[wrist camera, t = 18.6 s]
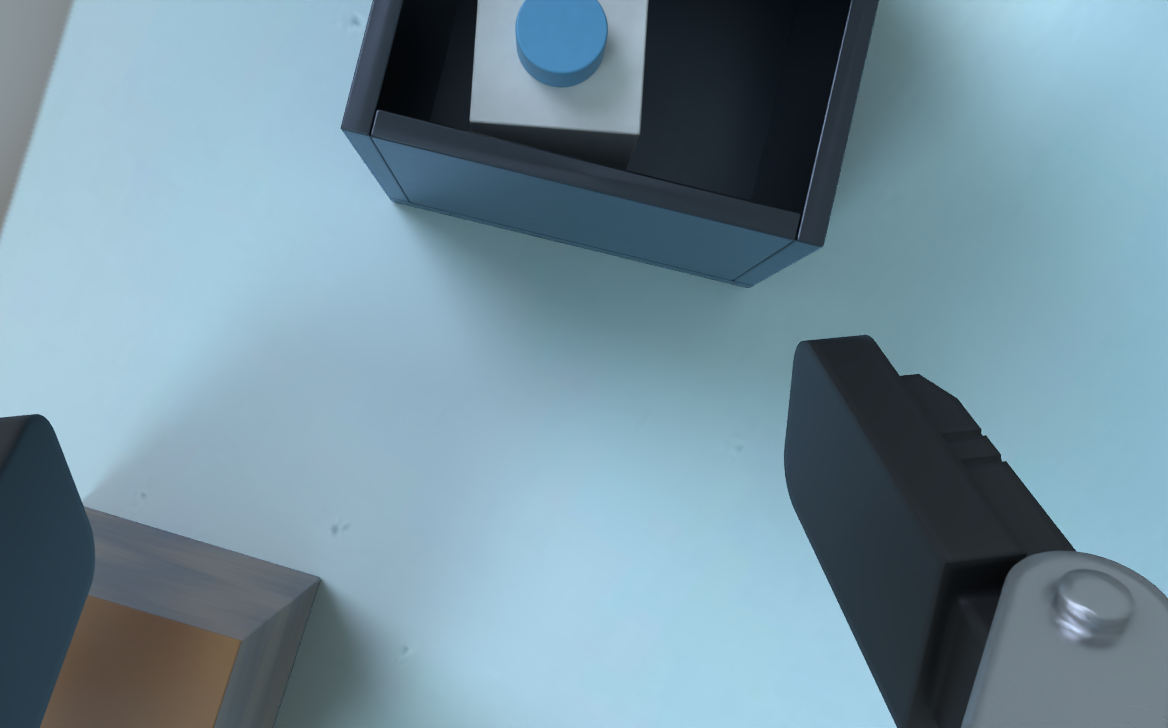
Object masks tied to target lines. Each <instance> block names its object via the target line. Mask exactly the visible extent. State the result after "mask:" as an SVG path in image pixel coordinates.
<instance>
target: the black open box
mask: <svg viewBox="0 0 1168 728" xmlns="http://www.w3.org/2000/svg"><path fill="white" fill-rule="evenodd" d="M878 2H879V0H649V1H648V18H647V34H646V50H645V66H644V83H643V99H642V115H641V132H640V135H639V138H638V140H637V143H636V146H635V148H634V151H633V153H632V156H631V159H630V161H629V164H628V166H627V169H626V170H624V169H620V168H615V167H611V166H607V165H603V164H599V163H595V162H591V161H587V160H583V159H579V158H575V157H571V156H567V155H563V154H559V153H555V152H551V151H547V150H542V149H538V148H534V147H530V146H526V145H522V144H518V143H514V142H510V141H506V140H502V139H498V138H494V137H490V136H486V135H482V134H478V133H474V132H472V129H471V124H470V106H471V92H472V77H473V63H474V48H475V34H476V19H477V5H478V0H373V2H372V6H371V10H370V14H369V18H368V22H367V26H366V30H365V34H364V38H363V42H362V46H361V50H360V54H359V58H358V62H357V66H356V69H355V73H354V77H353V81H352V85H351V89H350V93H349V97H348V101H347V105H346V109H345V113H344V117H343V121H342V125H341V129H342V131H343V132H344V134H345V135H346V137H347V138H348V140H349V141H350V142H351V144H352V145H353V147H354V148H355V150H356V151H357V153H358V154H359V155H360V157H361V158H362V160H363V161H364V163H365V164H366V165H367V167H368V168H369V170H370V171H371V173H372V174H373V176H374V177H375V178H376V180H377V181H378V183H379V184H380V186H381V187H382V189H383V190H384V191H385V193H386V194H387V196H388V197H389V198H390V200H391V201H392V202H396V203H401V204H405V205H409V206H413V207H417V208H421V209H425V210H429V211H433V212H437V213H442V214H446V215H450V216H454V217H458V218H462V219H466V220H470V221H474V222H479V223H483V224H487V225H491V226H495V227H499V228H503V229H507V230H511V231H516V232H520V233H524V234H528V235H532V236H536V237H540V238H544V239H548V240H553V241H557V242H561V243H565V244H569V245H573V246H577V247H581V248H585V249H590V250H594V251H598V252H602V253H606V254H610V255H614V256H618V257H622V258H626V259H631V260H635V261H639V262H643V263H647V264H651V265H655V266H659V267H663V268H668V269H672V270H676V271H680V272H684V273H688V274H692V275H696V276H700V277H705V278H709V279H713V280H717V281H721V282H725V283H729V284H733V285H737V286H742V287H746V288H750V287H752V286H753V285H755V284H757V283H759V282H760V281H762V280H764V279H766V278H768V277H769V276H771V275H773V274H775V273H777V272H778V271H780V270H782V269H784V268H786V267H787V266H789V265H791V264H793V263H795V262H796V261H798V260H800V259H802V258H803V257H805V256H807V255H809V254H811V253H812V252H814V251H816V250H818V249H820V248H821V247H823V245H824V242H825V237H826V233H827V228H828V224H829V219H830V215H831V211H832V206H833V202H834V197H835V193H836V188H837V184H838V180H839V175H840V171H841V166H842V162H843V157H844V153H845V149H846V144H847V140H848V135H849V131H850V126H851V122H852V118H853V113H854V109H855V104H856V100H857V95H858V91H859V87H860V82H861V78H862V73H863V69H864V64H865V60H866V56H867V51H868V47H869V42H870V38H871V33H872V29H873V25H874V20H875V16H876V11H877V7H878Z"/></svg>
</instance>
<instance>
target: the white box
mask: <svg viewBox="0 0 1168 728" xmlns="http://www.w3.org/2000/svg"><path fill="white" fill-rule="evenodd" d="M648 1H649V0H478V5H477V19H476V34H475V48H474V63H473V77H472V92H471V106H470V124H471V129H472V132H474V133H478V134H482V135H486V136H490V137H494V138H498V139H502V140H506V141H510V142H514V143H518V144H522V145H526V146H530V147H534V148H538V149H542V150H547V151H551V152H555V153H559V154H563V155H567V156H571V157H575V158H579V159H583V160H587V161H591V162H595V163H599V164H603V165H607V166H611V167H615V168H620V169H624V170H626V169H627V166H628V164H629V161H630V159H631V156H632V153H633V151H634V148H635V146H636V143H637V140H638V138H639V135H640V132H641V115H642V99H643V83H644V66H645V50H646V34H647V18H648Z"/></svg>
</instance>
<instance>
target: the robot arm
mask: <svg viewBox="0 0 1168 728" xmlns="http://www.w3.org/2000/svg"><path fill="white" fill-rule="evenodd" d="M784 467H785V477H786V483H787V488H788V492H789V496H790V499H791V502H792V505H793V507H794V509H795V512H796V514H797V516H798V518H799V520H800V522H801V524H802V526H803V529H804V531H805V533H806V535H807V537H808V539H809V541H810V543H811V546H812V548H813V550H814V552H815V554H816V556H817V558H818V560H819V563H820V565H821V567H822V569H823V571H824V573H825V575H826V577H827V580H828V582H829V584H830V586H831V588H832V590H833V592H834V594H835V597H836V599H837V601H838V603H839V605H840V607H841V609H842V611H843V614H844V616H845V618H846V620H847V622H848V624H849V626H850V628H851V631H852V633H853V635H854V637H855V639H856V641H857V643H858V645H859V648H860V650H861V652H862V654H863V656H864V658H865V660H866V662H867V665H868V667H869V669H870V671H871V673H872V675H873V677H874V679H875V682H876V684H877V686H878V688H879V690H880V692H881V694H882V696H883V699H884V701H885V703H886V705H887V707H888V709H889V711H890V713H891V716H892V718H893V720H894V722H895V724H896V726H897V728H1168V598H1167V597H1166V596H1165V595H1164V594H1163V593H1162V592H1161V591H1160V590H1159V589H1158V588H1157V587H1156V586H1155V585H1154V584H1152V583H1151V582H1150V581H1148V580H1147V579H1146V578H1144V577H1143V576H1141V575H1140V574H1138V573H1136V572H1135V571H1133V570H1131V569H1130V568H1127V567H1125V566H1123V565H1121V564H1119V563H1117V562H1114V561H1112V560H1109V559H1106V558H1103V557H1100V556H1096V555H1092V554H1088V553H1082V552H1076V551H1075V549H1074V548H1073V547H1072V545H1071V544H1070V543H1069V542H1068V540H1067V539H1066V538H1065V536H1064V535H1063V534H1062V533H1061V531H1060V530H1059V529H1058V527H1057V526H1056V525H1055V524H1054V522H1053V521H1052V520H1051V518H1050V517H1049V516H1048V515H1047V513H1046V512H1045V511H1044V509H1043V508H1042V507H1041V506H1040V504H1039V503H1038V502H1037V500H1036V499H1035V498H1034V497H1033V495H1032V494H1031V493H1030V491H1029V490H1028V489H1027V488H1026V486H1025V485H1024V484H1023V482H1022V481H1021V480H1020V479H1019V477H1018V476H1017V475H1016V473H1015V472H1014V471H1013V470H1012V468H1011V467H1010V466H1009V464H1008V463H1007V462H1006V461H1004V462H1002V460H1001V454H1000V453H999V452H998V450H997V449H996V448H995V446H994V445H993V444H992V443H991V441H990V440H989V439H988V437H987V436H982V434H981V428H980V427H979V426H978V425H977V423H976V422H975V421H974V419H973V418H972V417H971V416H970V414H969V413H968V412H967V410H966V409H965V408H964V407H963V405H962V404H961V403H960V401H959V400H958V399H957V398H955V397H954V396H952V395H951V394H949V393H948V392H946V391H945V390H943V389H941V388H940V387H938V386H937V385H935V384H934V383H932V382H931V381H929V380H927V379H926V378H924V377H923V376H921V375H920V374H914V375H904V376H899V374H898V373H897V371H896V370H895V369H894V367H893V366H892V365H891V363H890V362H889V360H888V359H887V358H886V356H885V355H884V353H883V352H882V351H881V349H880V348H879V346H878V345H877V344H876V342H875V341H874V340H873V339H872V338H871V337H870V336H868V335H859V336H849V337H839V338H829V339H819V340H808V341H801V342H800V343H799V344H798V346H797V348H796V351H795V355H794V361H793V371H792V381H791V390H790V400H789V410H788V420H787V429H786V439H785V449H784ZM94 570H95V544H94V537H93V532H92V528H91V525H90V522H89V519H88V517H87V514H86V512H85V509H84V506H83V504H82V501H81V499H80V496H79V493H78V491H77V488H76V486H75V483H74V480H73V478H72V475H71V473H70V470H69V467H68V465H67V462H66V460H65V457H64V454H63V452H62V449H61V447H60V444H59V441H58V439H57V436H56V434H55V431H54V429H53V427H52V426H51V424H50V422H49V421H48V420H47V419H46V418H45V417H44V416H42V415H39V414H33V415H23V416H13V417H3V418H0V728H40V726H41V723H42V720H43V717H44V715H45V712H46V709H47V706H48V704H49V701H50V698H51V695H52V693H53V690H54V687H55V684H56V681H57V679H58V676H59V673H60V670H61V668H62V665H63V662H64V659H65V657H66V654H67V651H68V648H69V646H70V643H71V640H72V637H73V635H74V632H75V629H76V626H77V624H78V621H79V618H80V615H81V613H82V610H83V607H84V604H85V602H86V599H87V596H88V593H89V590H90V588H91V585H92V581H93V576H94Z"/></svg>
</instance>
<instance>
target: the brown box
mask: <svg viewBox="0 0 1168 728" xmlns="http://www.w3.org/2000/svg"><path fill="white" fill-rule="evenodd" d="M84 509H85V512H86V514H87V517H88V519H89V522H90V525H91V528H92V532H93V537H94V544H95V570H94V576H93V581H92V585H91V588H90V590H89V593H88V596H87V599H86V602H85V604H84V607H83V610H82V613H81V615H80V618H79V621H78V624H77V626H76V629H75V632H74V635H73V637H72V640H71V643H70V646H69V648H68V651H67V654H66V657H65V659H64V662H63V665H62V668H61V670H60V673H59V676H58V679H57V681H56V684H55V687H54V690H53V693H52V695H51V698H50V701H49V704H48V706H47V709H46V712H45V715H44V717H43V720H42V723H41V726H40V728H273V726H274V723H275V720H276V717H277V714H278V710H279V707H280V704H281V701H282V698H283V695H284V692H285V689H286V685H287V682H288V679H289V676H290V673H291V670H292V667H293V663H294V660H295V657H296V654H297V651H298V648H299V645H300V642H301V638H302V635H303V632H304V629H305V626H306V623H307V620H308V616H309V613H310V610H311V607H312V604H313V601H314V598H315V595H316V591H317V588H318V585H319V582H320V577H316V576H313V575H310V574H306V573H303V572H300V571H296V570H293V569H290V568H286V567H283V566H280V565H276V564H273V563H270V562H266V561H263V560H260V559H256V558H253V557H250V556H246V555H243V554H240V553H236V552H233V551H230V550H226V549H223V548H220V547H216V546H213V545H210V544H207V543H203V542H200V541H197V540H193V539H190V538H187V537H183V536H180V535H177V534H173V533H170V532H167V531H163V530H160V529H157V528H153V527H150V526H147V525H143V524H140V523H137V522H133V521H130V520H127V519H123V518H120V517H117V516H113V515H110V514H107V513H103V512H100V511H97V510H93V509H90V508H87V507H84Z"/></svg>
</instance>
